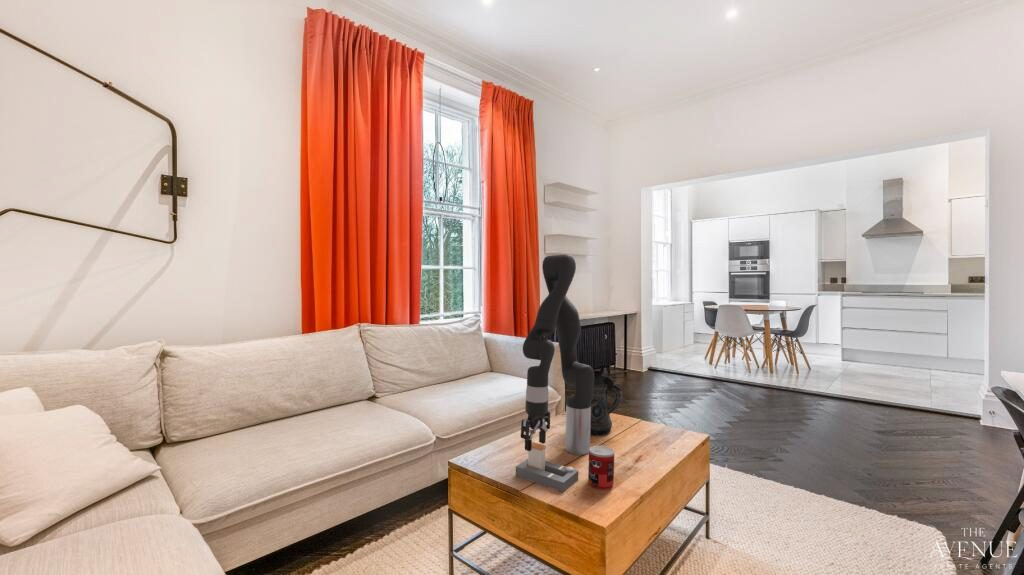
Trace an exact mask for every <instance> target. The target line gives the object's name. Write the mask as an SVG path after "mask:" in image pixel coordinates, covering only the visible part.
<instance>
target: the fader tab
mask: <svg viewBox="0 0 1024 575" xmlns="http://www.w3.org/2000/svg"><path fill="white" fill-rule="evenodd" d="M546 448H547V445H545V444H542V443H537V442H534V441H532V450H531V451H527V453H528V454H527V455H528V458H527V459H528V466H532V467H535V468H538V469H541V470H544V471H545V460H546Z"/></svg>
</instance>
